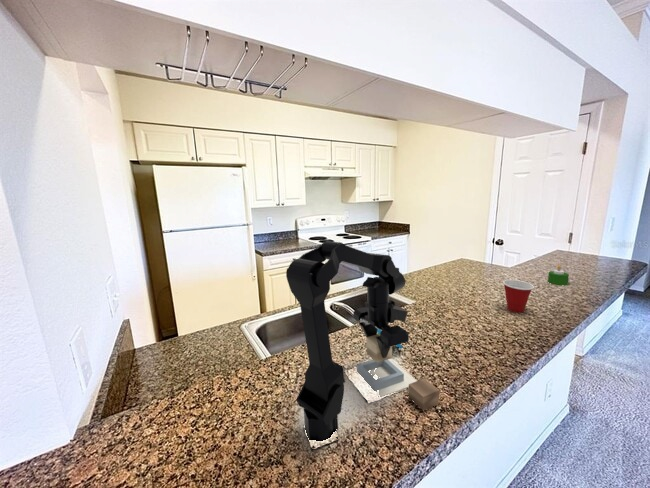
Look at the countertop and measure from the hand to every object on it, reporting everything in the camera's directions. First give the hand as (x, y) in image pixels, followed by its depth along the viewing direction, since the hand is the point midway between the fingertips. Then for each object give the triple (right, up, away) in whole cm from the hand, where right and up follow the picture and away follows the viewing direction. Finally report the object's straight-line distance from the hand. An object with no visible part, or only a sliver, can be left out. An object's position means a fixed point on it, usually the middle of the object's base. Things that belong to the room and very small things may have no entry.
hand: (379, 352), depth 76 cm
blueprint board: (+1, -8, +1) cm, 8 cm away
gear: (+6, -5, +17) cm, 19 cm away
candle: (+111, +9, +71) cm, 132 cm away
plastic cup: (+67, +2, +41) cm, 78 cm away
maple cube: (0, -1, 0) cm, 1 cm away
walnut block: (+10, -9, -8) cm, 15 cm away
